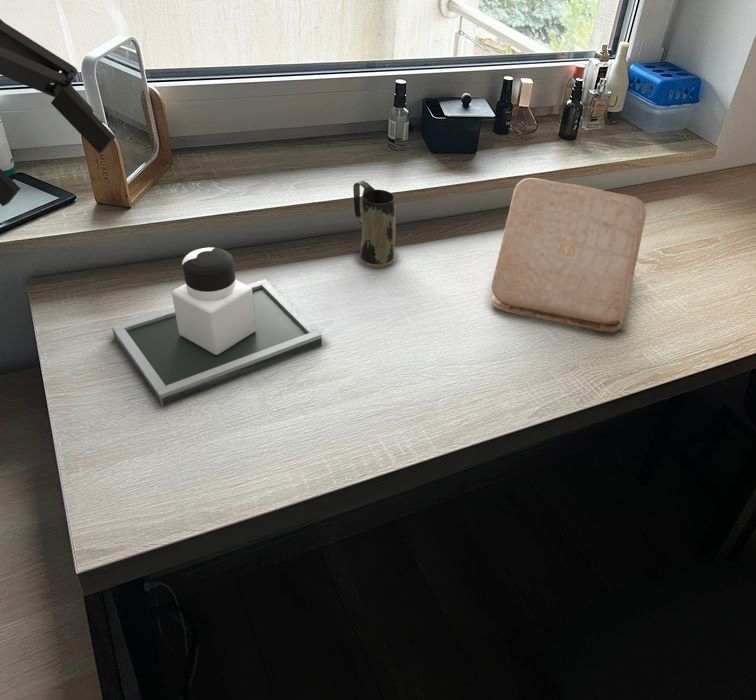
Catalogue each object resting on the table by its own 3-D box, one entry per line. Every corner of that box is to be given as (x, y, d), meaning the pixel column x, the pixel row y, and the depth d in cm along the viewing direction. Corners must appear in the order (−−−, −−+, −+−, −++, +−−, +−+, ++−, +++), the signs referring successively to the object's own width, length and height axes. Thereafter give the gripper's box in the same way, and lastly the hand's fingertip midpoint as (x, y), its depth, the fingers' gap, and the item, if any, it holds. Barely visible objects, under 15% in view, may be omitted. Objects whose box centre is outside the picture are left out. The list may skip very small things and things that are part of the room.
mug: (401, 260, 118) (404, 192, 111) (376, 271, 115) (378, 203, 107) (368, 240, 122) (369, 174, 115) (343, 251, 118) (342, 184, 111)
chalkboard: (162, 407, 87) (159, 394, 86) (114, 338, 96) (111, 326, 95) (322, 345, 99) (321, 334, 98) (266, 289, 108) (265, 278, 107)
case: (484, 312, 109) (498, 217, 99) (511, 246, 125) (524, 159, 115) (619, 342, 106) (646, 247, 96) (628, 270, 123) (652, 183, 113)
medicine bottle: (257, 331, 98) (249, 254, 90) (216, 357, 93) (205, 278, 85) (220, 311, 100) (209, 235, 93) (178, 335, 95) (163, 257, 88)
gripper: (-30, -17, 77) (123, 145, 84) (-280, 39, 57) (-54, 244, 64) (-2, -67, 73) (157, 108, 80) (-261, -24, 53) (-22, 202, 60)
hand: (63, 169), depth 72 cm, fingers open, 13 cm apart
